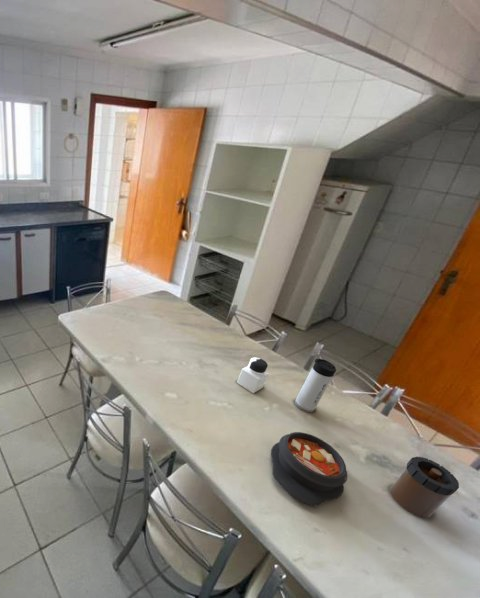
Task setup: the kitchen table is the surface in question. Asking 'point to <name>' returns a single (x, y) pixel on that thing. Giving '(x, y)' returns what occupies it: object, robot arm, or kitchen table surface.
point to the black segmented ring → (427, 482)
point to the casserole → (308, 468)
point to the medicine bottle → (254, 375)
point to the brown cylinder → (418, 494)
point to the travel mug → (315, 385)
